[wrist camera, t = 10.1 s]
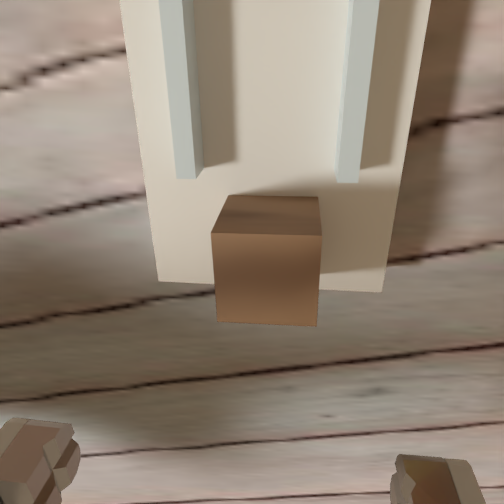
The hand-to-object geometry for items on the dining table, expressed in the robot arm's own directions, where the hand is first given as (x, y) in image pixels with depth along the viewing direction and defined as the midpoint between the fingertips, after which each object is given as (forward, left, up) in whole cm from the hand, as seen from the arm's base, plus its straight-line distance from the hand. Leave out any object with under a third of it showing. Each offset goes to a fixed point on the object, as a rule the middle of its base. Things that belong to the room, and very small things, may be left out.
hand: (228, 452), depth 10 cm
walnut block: (-1, 0, -15) cm, 15 cm away
